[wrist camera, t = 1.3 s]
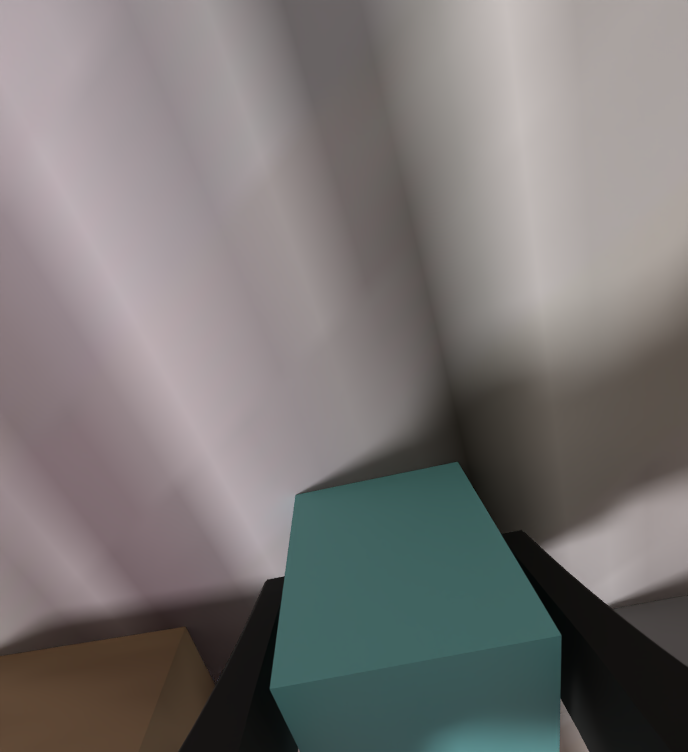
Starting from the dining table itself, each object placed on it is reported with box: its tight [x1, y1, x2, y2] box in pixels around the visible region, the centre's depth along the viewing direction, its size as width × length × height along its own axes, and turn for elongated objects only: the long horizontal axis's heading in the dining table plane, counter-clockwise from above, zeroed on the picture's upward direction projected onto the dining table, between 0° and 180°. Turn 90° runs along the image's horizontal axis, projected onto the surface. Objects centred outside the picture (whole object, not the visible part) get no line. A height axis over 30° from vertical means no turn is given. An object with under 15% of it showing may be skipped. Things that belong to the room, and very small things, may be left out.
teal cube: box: [270, 462, 562, 752], centre depth 9 cm, size 5×5×5 cm
